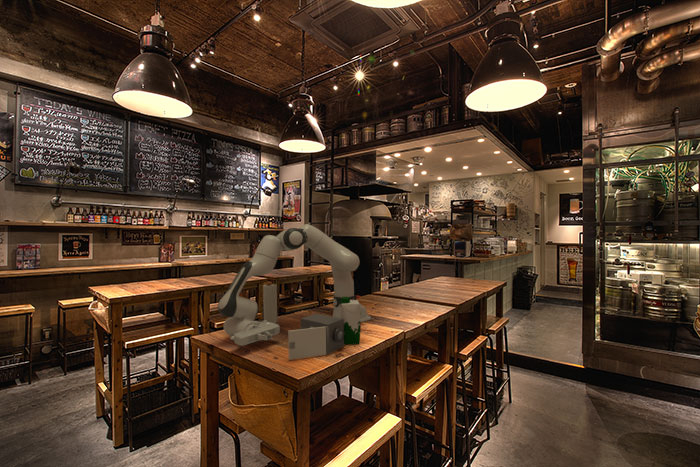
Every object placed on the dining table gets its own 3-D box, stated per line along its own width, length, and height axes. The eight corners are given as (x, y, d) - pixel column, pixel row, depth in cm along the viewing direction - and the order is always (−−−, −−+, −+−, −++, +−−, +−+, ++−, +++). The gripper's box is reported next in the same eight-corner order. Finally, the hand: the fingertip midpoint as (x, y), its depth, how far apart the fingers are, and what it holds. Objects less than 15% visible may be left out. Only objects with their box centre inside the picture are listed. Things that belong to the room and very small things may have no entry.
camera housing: (300, 346, 136) (299, 318, 136) (316, 339, 144) (316, 313, 144) (331, 355, 125) (330, 325, 125) (347, 347, 133) (347, 319, 133)
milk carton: (340, 339, 144) (339, 295, 144) (359, 338, 145) (358, 295, 145) (341, 345, 135) (340, 299, 135) (361, 345, 136) (361, 299, 136)
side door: (289, 360, 120) (288, 331, 120) (288, 359, 121) (288, 330, 121) (329, 354, 125) (328, 326, 125) (328, 353, 126) (328, 325, 126)
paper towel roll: (263, 326, 166) (263, 286, 165) (263, 323, 171) (263, 284, 171) (277, 325, 167) (277, 285, 167) (277, 321, 173) (276, 283, 173)
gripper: (227, 330, 130) (247, 336, 121) (267, 319, 146) (287, 324, 138) (227, 345, 130) (247, 353, 122) (268, 332, 146) (287, 338, 138)
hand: (269, 337), depth 130 cm, fingers closed
